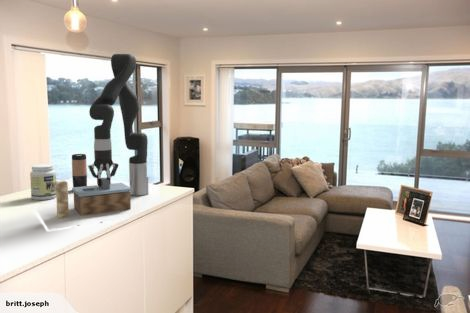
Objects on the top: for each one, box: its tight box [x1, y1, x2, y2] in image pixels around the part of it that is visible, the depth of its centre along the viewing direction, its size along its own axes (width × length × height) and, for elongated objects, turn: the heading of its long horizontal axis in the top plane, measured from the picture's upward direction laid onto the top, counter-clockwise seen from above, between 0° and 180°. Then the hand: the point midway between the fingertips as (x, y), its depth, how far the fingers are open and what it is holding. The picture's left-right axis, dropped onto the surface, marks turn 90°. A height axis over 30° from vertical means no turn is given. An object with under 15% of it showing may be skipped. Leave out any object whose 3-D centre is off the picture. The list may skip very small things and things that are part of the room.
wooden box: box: [73, 191, 132, 216], centre depth 195 cm, size 22×14×9 cm, turn 122°
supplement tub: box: [29, 163, 57, 201], centre depth 218 cm, size 12×12×17 cm
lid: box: [71, 177, 132, 197], centre depth 194 cm, size 23×15×5 cm, turn 122°
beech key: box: [55, 180, 70, 219], centre depth 181 cm, size 4×4×16 cm
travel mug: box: [71, 153, 88, 188], centre depth 236 cm, size 8×8×20 cm
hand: (104, 185), depth 194 cm, fingers closed on lid, 3 cm apart
